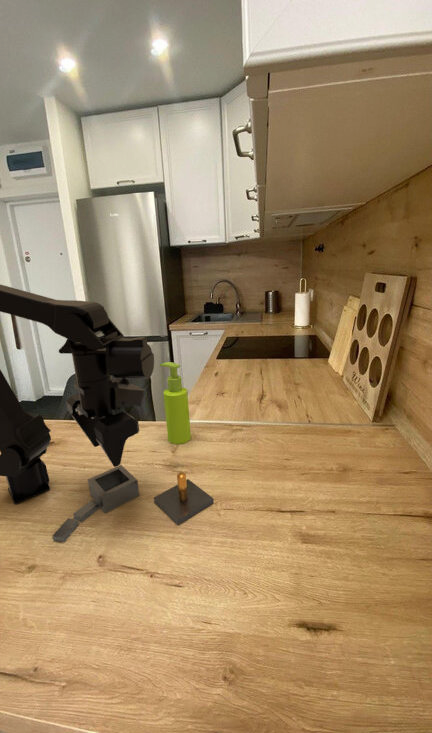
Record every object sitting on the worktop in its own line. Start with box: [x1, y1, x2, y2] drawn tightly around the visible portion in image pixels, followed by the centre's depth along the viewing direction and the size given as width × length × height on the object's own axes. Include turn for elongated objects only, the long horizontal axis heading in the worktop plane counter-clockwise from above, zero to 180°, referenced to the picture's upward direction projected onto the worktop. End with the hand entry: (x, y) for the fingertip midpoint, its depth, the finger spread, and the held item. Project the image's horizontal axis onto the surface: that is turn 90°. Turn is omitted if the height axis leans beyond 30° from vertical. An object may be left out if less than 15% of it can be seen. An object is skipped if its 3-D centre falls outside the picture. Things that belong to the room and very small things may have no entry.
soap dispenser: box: [159, 361, 192, 445], centre depth 82 cm, size 6×7×20 cm
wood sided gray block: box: [51, 517, 80, 543], centre depth 56 cm, size 4×2×1 cm, turn 167°
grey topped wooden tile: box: [72, 499, 100, 523], centre depth 60 cm, size 4×2×1 cm, turn 150°
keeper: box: [153, 471, 215, 526], centre depth 61 cm, size 8×8×6 cm
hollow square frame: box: [87, 464, 140, 514], centre depth 64 cm, size 7×7×4 cm
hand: (106, 455), depth 62 cm, fingers open, 9 cm apart
